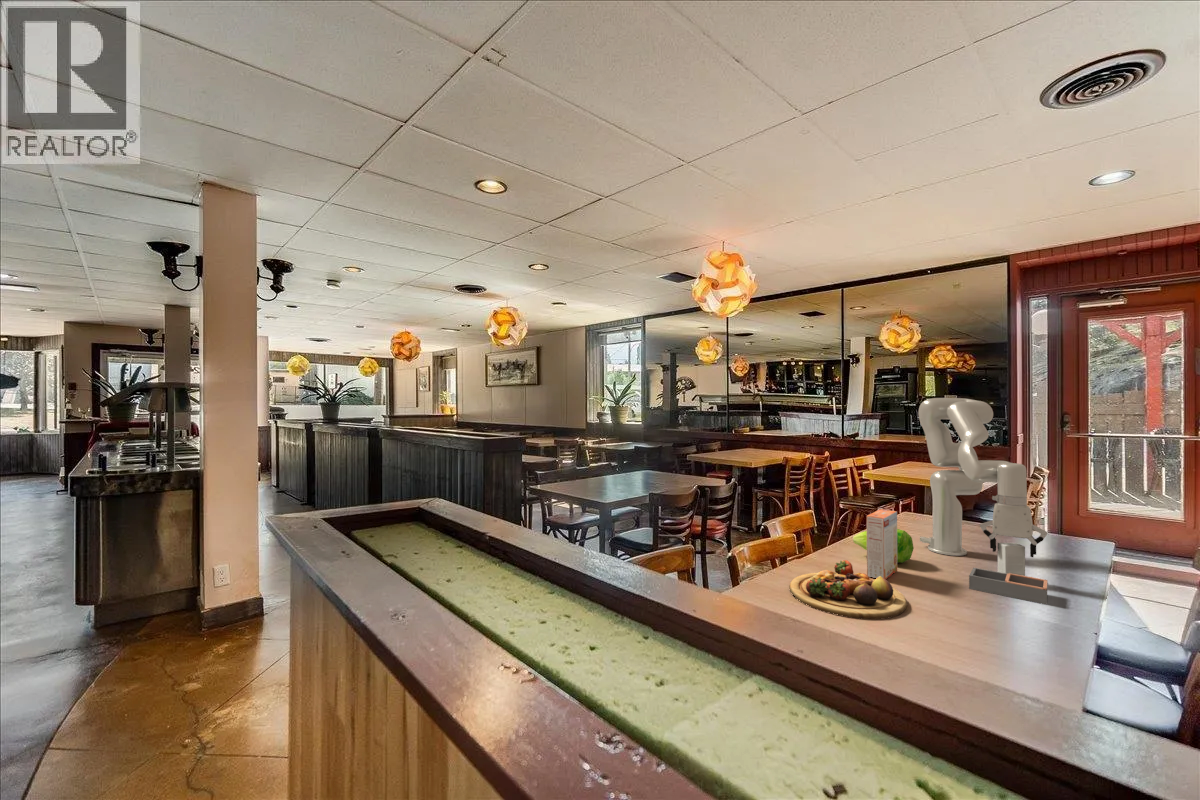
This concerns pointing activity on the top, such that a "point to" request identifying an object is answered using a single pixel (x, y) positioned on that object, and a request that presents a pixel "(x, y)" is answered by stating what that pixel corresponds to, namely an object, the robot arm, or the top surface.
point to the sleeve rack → (1009, 585)
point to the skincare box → (1011, 558)
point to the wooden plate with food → (848, 593)
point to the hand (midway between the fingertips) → (1012, 553)
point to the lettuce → (903, 544)
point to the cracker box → (881, 543)
